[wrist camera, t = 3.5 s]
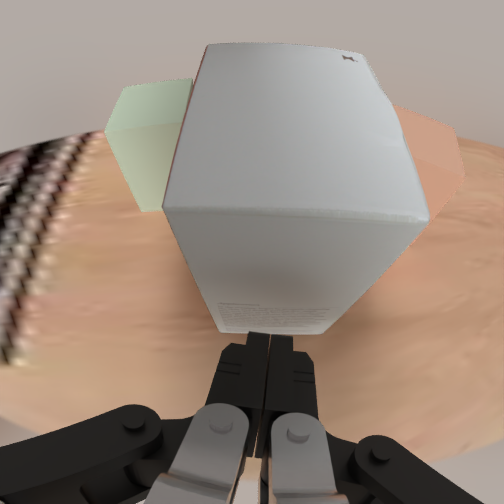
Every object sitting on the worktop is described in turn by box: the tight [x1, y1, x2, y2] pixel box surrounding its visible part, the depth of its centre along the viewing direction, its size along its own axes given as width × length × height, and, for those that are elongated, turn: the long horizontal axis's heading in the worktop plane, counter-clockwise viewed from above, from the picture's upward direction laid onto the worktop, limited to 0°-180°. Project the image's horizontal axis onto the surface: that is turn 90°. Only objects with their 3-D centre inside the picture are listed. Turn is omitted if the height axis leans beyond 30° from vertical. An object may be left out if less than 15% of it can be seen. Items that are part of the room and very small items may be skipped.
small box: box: [161, 43, 430, 334], centre depth 14 cm, size 8×6×13 cm
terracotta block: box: [392, 104, 466, 246], centre depth 18 cm, size 4×4×8 cm
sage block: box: [104, 78, 193, 212], centre depth 19 cm, size 4×4×8 cm
